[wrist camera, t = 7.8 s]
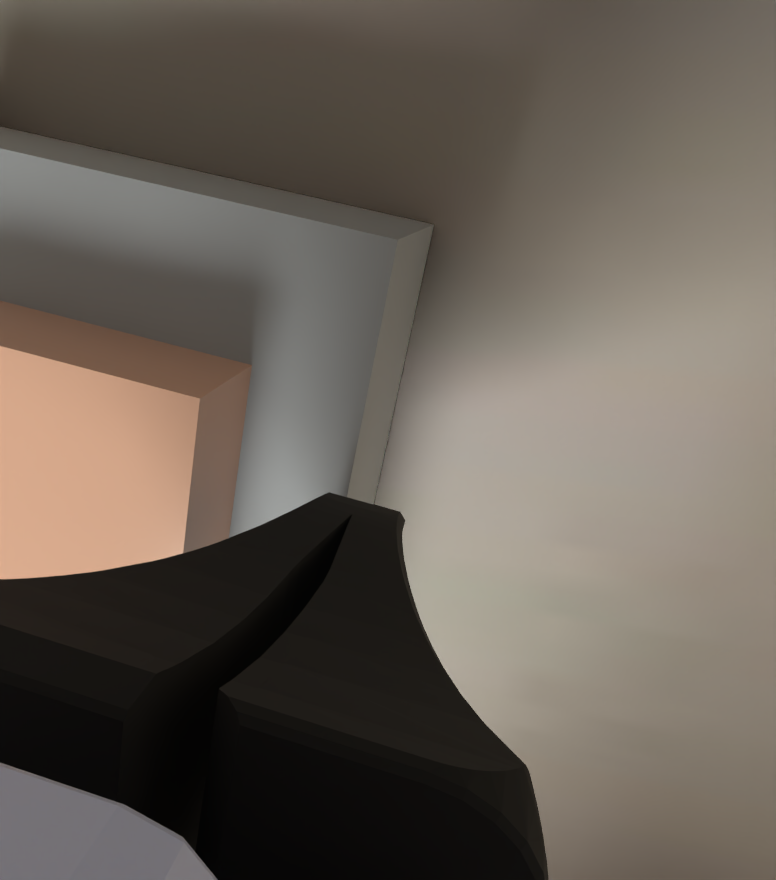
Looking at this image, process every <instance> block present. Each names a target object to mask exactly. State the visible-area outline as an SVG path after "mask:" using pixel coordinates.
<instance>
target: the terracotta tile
mask: <svg viewBox="0 0 776 880" xmlns="http://www.w3.org/2000/svg"><path fill="white" fill-rule="evenodd" d="M251 369H252V365H250V364H246V363H242V362H238V361H234V360H230V359H226V358H222V357H219V356H215V355H211V354H207V353H203V352H199V351H195V350H191V349H187V348H183V347H180V346H176V345H172V344H168V343H164V342H160V341H156V340H152V339H148V338H144V337H141V336H137V335H133V334H129V333H125V332H121V331H117V330H113V329H109V328H105V327H101V326H98V325H94V324H90V323H86V322H82V321H78V320H74V319H70V318H66V317H62V316H59V315H55V314H51V313H47V312H43V311H39V310H35V309H31V308H27V307H23V306H20V305H16V304H12V303H8V302H4V301H0V579H22V578H37V577H49V576H62V575H71V574H79V573H88V572H95V571H102V570H107V569H113V568H118V567H124V566H129V565H134V564H140V563H145V562H150V561H155V560H159V559H164V558H168V557H171V556H175V555H178V554H182V553H186V552H189V551H193V550H196V549H199V548H202V547H206V546H209V545H212V544H214V543H217V542H220V541H222V540H225V539H227V538H229V533H230V525H231V518H232V510H233V503H234V496H235V488H236V481H237V473H238V466H239V458H240V451H241V443H242V436H243V428H244V421H245V414H246V406H247V399H248V391H249V384H250V376H251Z"/></svg>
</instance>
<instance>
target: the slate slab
mask: <svg viewBox="0 0 776 880" xmlns="http://www.w3.org/2000/svg"><path fill="white" fill-rule="evenodd" d="M433 227H434V224H429V223H425V222H421V221H416V220H412V219H407V218H403V217H398V216H394V215H390V214H385V213H381V212H376V211H372V210H368V209H363V208H359V207H354V206H350V205H345V204H341V203H337V202H332V201H328V200H323V199H319V198H315V197H310V196H306V195H301V194H297V193H292V192H288V191H284V190H279V189H275V188H270V187H266V186H262V185H257V184H253V183H248V182H244V181H240V180H235V179H231V178H226V177H222V176H217V175H213V174H209V173H204V172H200V171H195V170H191V169H187V168H182V167H178V166H173V165H169V164H164V163H160V162H156V161H151V160H147V159H142V158H138V157H134V156H129V155H125V154H120V153H116V152H111V151H107V150H103V149H98V148H94V147H89V146H85V145H81V144H76V143H72V142H67V141H63V140H59V139H54V138H50V137H45V136H41V135H36V134H32V133H28V132H23V131H19V130H14V129H10V128H6V127H1V126H0V301H4V302H8V303H12V304H16V305H20V306H23V307H27V308H31V309H35V310H39V311H43V312H47V313H51V314H55V315H59V316H62V317H66V318H70V319H74V320H78V321H82V322H86V323H90V324H94V325H98V326H101V327H105V328H109V329H113V330H117V331H121V332H125V333H129V334H133V335H137V336H141V337H144V338H148V339H152V340H156V341H160V342H164V343H168V344H172V345H176V346H180V347H183V348H187V349H191V350H195V351H199V352H203V353H207V354H211V355H215V356H219V357H222V358H226V359H230V360H234V361H238V362H242V363H246V364H250V365H252V369H251V376H250V384H249V391H248V399H247V406H246V414H245V421H244V428H243V436H242V443H241V451H240V458H239V466H238V473H237V481H236V488H235V496H234V503H233V510H232V518H231V525H230V533H229V538H230V537H232V536H235V535H237V534H240V533H242V532H245V531H247V530H250V529H252V528H255V527H257V526H260V525H262V524H264V523H266V522H269V521H271V520H273V519H275V518H277V517H279V516H281V515H283V514H285V513H288V512H290V511H292V510H294V509H296V508H298V507H300V506H302V505H304V504H306V503H308V502H310V501H312V500H314V499H316V498H318V497H320V496H322V495H324V494H326V493H329V492H330V493H334V494H337V495H341V496H344V497H348V498H352V499H355V500H359V501H363V502H366V503H370V504H373V505H374V501H375V496H376V492H377V487H378V483H379V478H380V473H381V469H382V464H383V459H384V455H385V450H386V445H387V441H388V436H389V432H390V427H391V422H392V418H393V413H394V408H395V404H396V399H397V394H398V390H399V385H400V380H401V376H402V371H403V367H404V362H405V357H406V353H407V348H408V343H409V339H410V334H411V329H412V325H413V320H414V315H415V311H416V306H417V302H418V297H419V292H420V288H421V283H422V278H423V274H424V269H425V264H426V260H427V255H428V250H429V246H430V241H431V237H432V232H433Z"/></svg>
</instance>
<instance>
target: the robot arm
mask: <svg viewBox="0 0 776 880" xmlns="http://www.w3.org/2000/svg"><path fill="white" fill-rule="evenodd" d="M404 522H405V519H404V518H403V516H402V514H401V513H400V512H399V511H395V510H391V509H388V508H384V507H381V506H377V505H373V504H370V503H366V502H363V501H359V500H355V499H352V498H348V497H344V496H341V495H337V494H334V493H330V492H329V493H326V494H324V495H322V496H320V497H318V498H316V499H314V500H312V501H310V502H308V503H306V504H304V505H302V506H300V507H298V508H296V509H294V510H292V511H290V512H288V513H285V514H283V515H281V516H279V517H277V518H275V519H273V520H271V521H269V522H266V523H264V524H262V525H260V526H257V527H255V528H252V529H250V530H247V531H245V532H242V533H240V534H237V535H235V536H232V537H230V538H227V539H225V540H222V541H220V542H217V543H214V544H212V545H209V546H206V547H202V548H199V549H196V550H193V551H189V552H186V553H182V554H178V555H175V556H171V557H168V558H164V559H159V560H155V561H150V562H145V563H140V564H134V565H129V566H124V567H118V568H113V569H107V570H102V571H95V572H88V573H79V574H71V575H62V576H49V577H37V578H22V579H0V880H548V871H547V860H546V853H545V846H544V839H543V833H542V828H541V822H540V817H539V811H538V807H537V802H536V798H535V794H534V789H533V785H532V781H531V777H530V774H529V770H528V768H527V767H526V765H525V764H524V763H523V762H522V761H521V760H520V759H519V758H518V757H517V756H516V755H515V754H514V753H513V752H512V751H511V750H510V749H509V748H508V747H507V746H506V745H505V744H504V743H503V742H502V741H501V740H500V739H499V738H498V737H497V736H496V735H495V734H494V733H493V732H492V731H491V730H490V729H489V728H488V727H487V726H486V724H485V723H484V722H483V721H482V720H481V719H480V718H479V716H478V715H477V714H476V713H475V711H474V710H473V709H472V708H471V706H470V705H469V704H468V703H467V701H466V700H465V699H464V698H463V696H462V695H461V694H460V692H459V691H458V689H457V688H456V686H455V685H454V683H453V682H452V680H451V678H450V677H449V675H448V674H447V672H446V671H445V669H444V668H443V666H442V664H441V662H440V660H439V658H438V657H437V655H436V653H435V651H434V649H433V647H432V645H431V643H430V641H429V638H428V636H427V634H426V632H425V630H424V627H423V625H422V622H421V620H420V617H419V614H418V611H417V609H416V605H415V602H414V599H413V596H412V593H411V589H410V585H409V581H408V577H407V572H406V567H405V562H404V555H403V546H402V531H403V526H404Z"/></svg>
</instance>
